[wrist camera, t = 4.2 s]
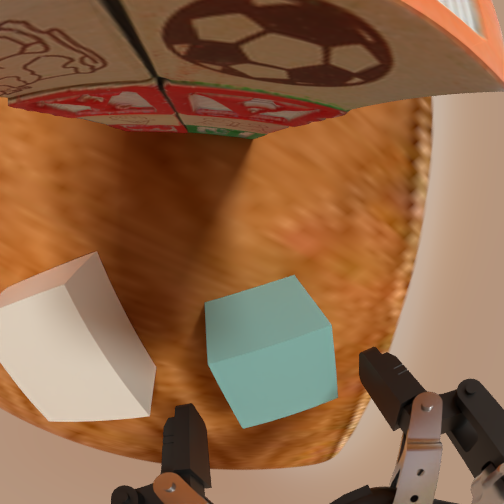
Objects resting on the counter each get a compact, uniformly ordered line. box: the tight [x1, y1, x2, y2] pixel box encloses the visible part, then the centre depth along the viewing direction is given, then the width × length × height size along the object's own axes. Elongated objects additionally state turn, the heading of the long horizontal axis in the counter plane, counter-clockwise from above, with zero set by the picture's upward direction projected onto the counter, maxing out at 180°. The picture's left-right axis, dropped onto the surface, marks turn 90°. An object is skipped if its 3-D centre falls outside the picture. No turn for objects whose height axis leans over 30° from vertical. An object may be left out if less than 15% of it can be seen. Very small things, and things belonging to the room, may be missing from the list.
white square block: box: [0, 251, 156, 422], centre depth 12 cm, size 8×8×4 cm
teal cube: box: [205, 275, 338, 429], centre depth 13 cm, size 5×5×5 cm
